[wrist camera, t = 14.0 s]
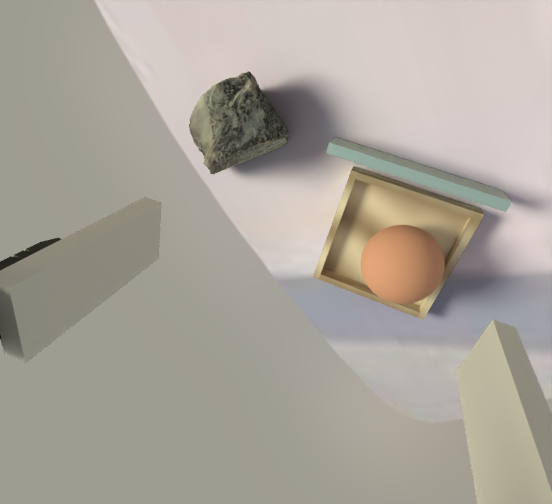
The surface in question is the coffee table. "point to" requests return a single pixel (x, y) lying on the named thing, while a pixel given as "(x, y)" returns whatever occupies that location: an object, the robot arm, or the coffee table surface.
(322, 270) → the tray
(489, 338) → the robot arm
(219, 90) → the stone
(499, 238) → the coffee table surface
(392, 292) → the ball
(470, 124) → the coffee table surface
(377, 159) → the wall
